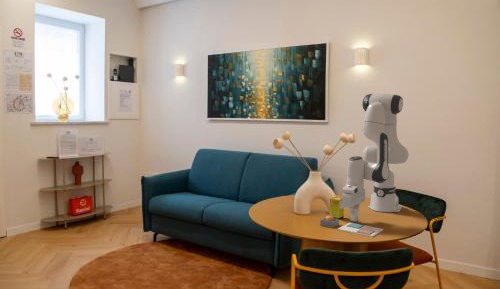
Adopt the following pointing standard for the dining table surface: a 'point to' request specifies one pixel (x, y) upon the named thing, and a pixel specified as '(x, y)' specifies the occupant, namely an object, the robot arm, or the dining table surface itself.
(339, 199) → the supplement box
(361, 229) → the picture sheet
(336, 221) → the button housing
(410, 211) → the dining table surface
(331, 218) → the button
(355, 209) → the cylinder
